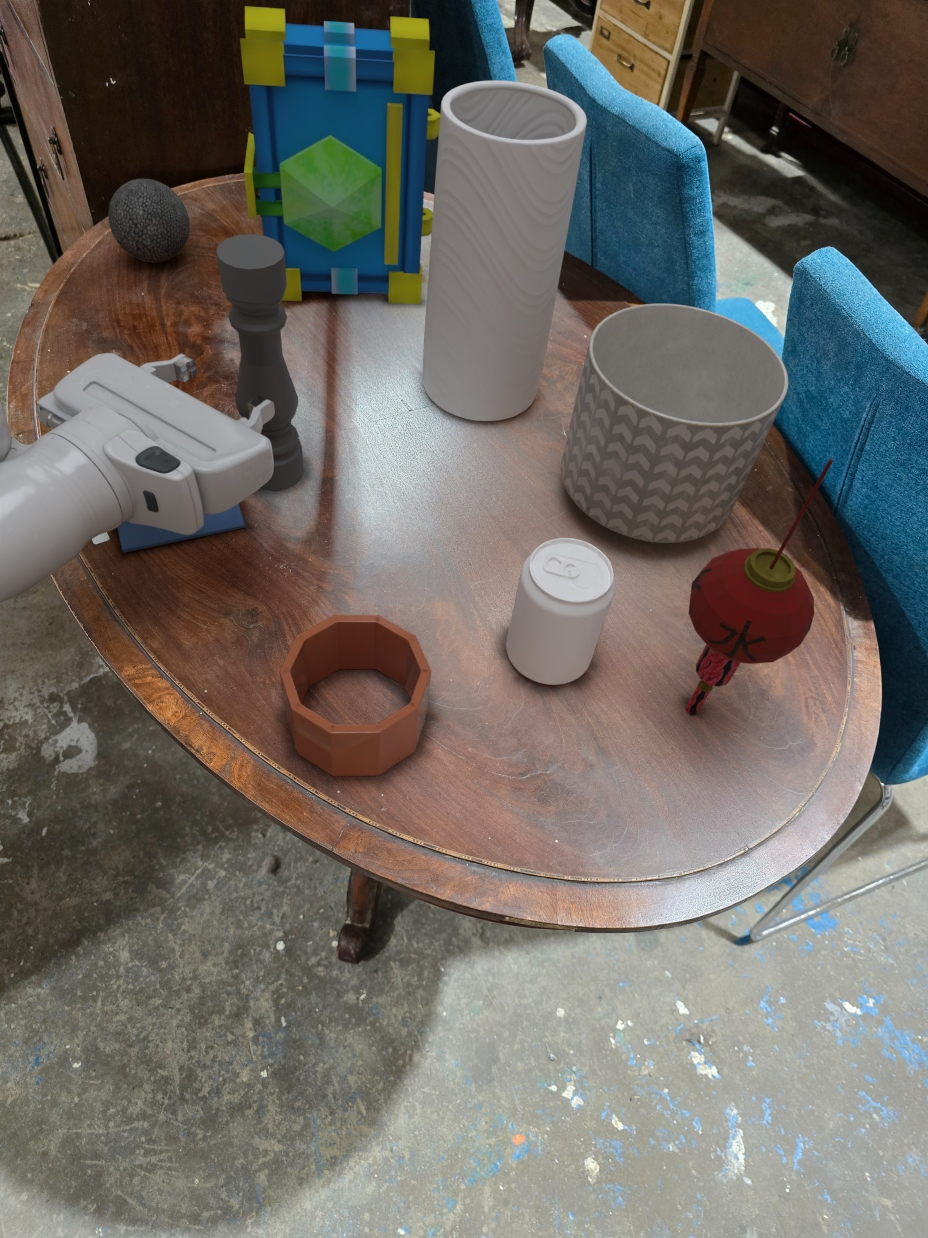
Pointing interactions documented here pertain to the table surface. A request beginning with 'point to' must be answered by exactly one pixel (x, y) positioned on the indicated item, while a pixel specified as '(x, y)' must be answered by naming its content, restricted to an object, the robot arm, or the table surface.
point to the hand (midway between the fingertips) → (228, 383)
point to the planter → (669, 420)
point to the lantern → (748, 610)
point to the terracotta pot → (355, 648)
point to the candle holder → (262, 344)
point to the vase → (497, 243)
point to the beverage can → (559, 610)
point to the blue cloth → (152, 536)
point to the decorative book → (340, 150)
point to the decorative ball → (149, 220)
